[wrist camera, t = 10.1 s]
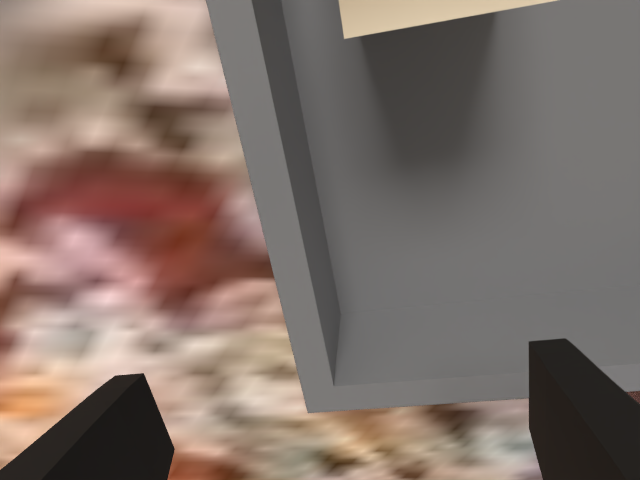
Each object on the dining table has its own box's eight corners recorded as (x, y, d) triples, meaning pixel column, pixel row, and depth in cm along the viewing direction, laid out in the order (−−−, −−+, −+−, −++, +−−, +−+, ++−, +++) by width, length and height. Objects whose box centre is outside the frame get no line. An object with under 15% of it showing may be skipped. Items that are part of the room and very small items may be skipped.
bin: (774, 286, 18) (888, 374, 14) (320, 328, 21) (308, 413, 17) (949, -481, 10) (1307, -764, 6) (193, -265, 13) (113, -374, 9)
